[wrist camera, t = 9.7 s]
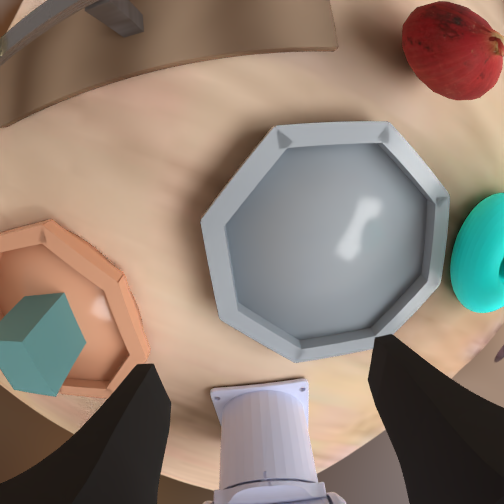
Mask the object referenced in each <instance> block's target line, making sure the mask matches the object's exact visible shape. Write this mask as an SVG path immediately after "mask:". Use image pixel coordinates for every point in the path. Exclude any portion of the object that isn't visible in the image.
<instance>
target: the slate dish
mask: <svg viewBox="0 0 504 504" xmlns="http://www.w3.org/2000/svg"><path fill="white" fill-rule="evenodd" d="M449 207H450V196H449V193H448V192H447V191H446V189H445V188H444V186H443V185H442V184H441V182H440V181H439V180H438V179H437V177H436V176H435V175H434V173H433V172H432V171H431V170H430V168H429V167H428V166H427V165H426V163H425V162H424V161H423V160H422V158H421V157H420V156H419V155H418V154H417V152H416V151H415V150H414V149H413V148H412V147H411V145H410V144H409V143H408V142H407V141H406V140H405V139H404V137H403V136H402V135H401V134H400V133H399V132H398V131H397V130H396V129H395V128H394V127H393V125H392V124H391V123H390V122H388V121H351V122H322V123H304V124H290V125H278V126H274V127H272V128H271V129H270V130H269V131H268V132H267V134H266V135H265V136H264V137H263V138H262V140H261V141H260V142H259V143H258V145H257V146H256V147H255V148H254V150H253V151H252V152H251V153H250V154H249V156H248V157H247V158H246V160H245V161H244V162H243V163H242V165H241V166H240V167H239V168H238V170H237V171H236V172H235V173H234V175H233V176H232V177H231V179H230V180H229V181H228V182H227V184H226V185H225V186H224V188H223V189H222V190H221V192H220V193H219V194H218V195H217V197H216V198H215V199H214V201H213V202H212V203H211V205H210V206H209V207H208V209H207V210H206V211H205V213H204V214H203V216H202V218H201V221H200V223H201V228H202V234H203V239H204V245H205V250H206V255H207V260H208V265H209V271H210V276H211V281H212V286H213V290H214V295H215V300H216V305H217V310H218V314H219V319H220V320H221V321H223V322H225V323H226V324H228V325H230V326H231V327H233V328H235V329H236V330H238V331H240V332H241V333H243V334H245V335H246V336H248V337H250V338H252V339H253V340H255V341H257V342H258V343H260V344H262V345H264V346H265V347H267V348H269V349H271V350H272V351H274V352H276V353H278V354H280V355H281V356H283V357H285V358H287V359H289V360H290V361H292V362H294V363H295V362H296V363H298V362H305V361H311V360H317V359H323V358H329V357H334V356H340V355H345V354H350V353H355V352H360V351H365V350H370V349H373V346H374V339H375V337H379V336H384V335H388V334H392V335H393V334H394V333H395V332H396V331H397V330H398V329H399V328H400V327H401V326H402V325H403V324H404V323H405V322H406V321H407V320H408V319H409V318H410V317H411V316H412V315H413V314H414V313H415V312H416V311H417V310H418V309H419V307H420V306H421V305H422V304H423V303H424V302H425V301H426V300H427V299H428V298H429V297H430V296H431V294H432V293H433V292H434V291H435V290H436V289H437V288H438V287H439V285H440V283H441V277H442V271H443V265H444V257H445V250H446V241H447V232H448V221H449Z"/></svg>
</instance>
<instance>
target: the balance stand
mask: <svg viewBox="0 0 504 504" xmlns="http://www.w3.org/2000/svg"><path fill="white" fill-rule="evenodd" d="M337 48H338V42H337V36H336V30H335V25H334V20H333V15H332V10H331V5H330V1H329V0H99V1H97V2H95V3H93V4H91V5H89V6H87V7H85V8H83V9H82V10H80V11H78V12H76V13H75V14H73V15H71V16H70V17H68V18H66V19H65V20H63V21H61V22H60V23H58V24H57V25H55V26H53V27H52V28H50V29H49V30H47V31H46V32H44V33H43V34H42V35H40V36H39V37H37V38H36V39H34V40H33V41H32V42H30V43H29V44H28V45H26V46H25V47H24V48H22V49H21V50H20V51H18V52H17V53H16V54H15V55H13V56H12V57H11V58H10V59H8V60H7V61H6V62H5V63H4V64H2V65H1V66H0V128H1V127H8V126H10V125H12V124H14V123H16V122H17V121H19V120H21V119H23V118H25V117H28V116H30V115H32V114H34V113H36V112H38V111H40V110H43V109H45V108H47V107H49V106H52V105H54V104H56V103H59V102H61V101H63V100H66V99H68V98H71V97H74V96H76V95H79V94H81V93H84V92H87V91H90V90H93V89H95V88H98V87H101V86H104V85H107V84H110V83H114V82H117V81H120V80H123V79H127V78H130V77H134V76H138V75H141V74H145V73H149V72H153V71H157V70H161V69H166V68H170V67H175V66H179V65H184V64H189V63H195V62H200V61H206V60H213V59H219V58H226V57H234V56H242V55H252V54H263V53H277V52H300V51H335V50H336V49H337Z"/></svg>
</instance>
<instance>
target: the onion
mask: <svg viewBox="0 0 504 504" xmlns="http://www.w3.org/2000/svg"><path fill="white" fill-rule="evenodd" d="M402 48H403V51H404V53H405V56H406V59H407V62H408V64H409V65H410V67H411V68H412V70H413V71H414V73H415V74H416V76H417V77H418V78H419V79H420V80H421V81H422V82H423V83H424V84H425V85H427V86H428V87H429V88H430V89H431V90H432V91H433V92H435V93H438V94H440V95H442V96H444V97H447V98H449V99H454V100H473V99H476V98H480V97H481V96H482V95H484V94H485V93H486V92H487V91H489V90H490V89H491V88H492V87H494V85H495V84H496V83H497V81H498V78H499V76H500V73H501V70H502V65H503V56H504V36H502V35H501V34H500V33H498V32H497V31H495V30H493V29H492V28H491V26H490V25H489V24H488V22H487V21H486V20H484V19H483V18H482V17H480V16H479V15H478V14H476V13H474V12H473V11H471V10H470V9H469V8H467V7H464V6H461V5H457V4H454V3H450V2H444V1H438V2H435V3H431V4H427V5H424V6H421V7H417V8H416V9H415V10H414V11H413V12H412V13H411V14H410V15H409V17H408V18H407V20H406V21H405V23H404V24H403V29H402Z"/></svg>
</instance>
